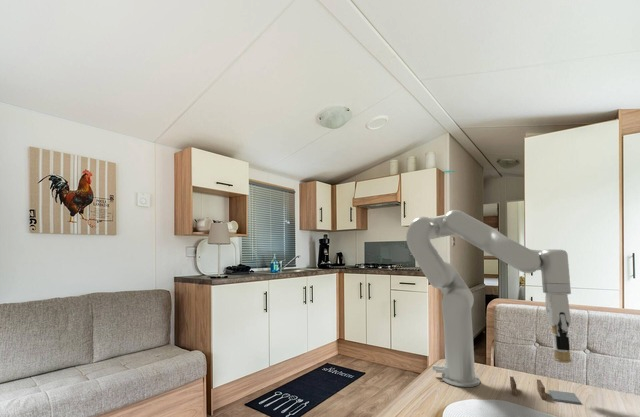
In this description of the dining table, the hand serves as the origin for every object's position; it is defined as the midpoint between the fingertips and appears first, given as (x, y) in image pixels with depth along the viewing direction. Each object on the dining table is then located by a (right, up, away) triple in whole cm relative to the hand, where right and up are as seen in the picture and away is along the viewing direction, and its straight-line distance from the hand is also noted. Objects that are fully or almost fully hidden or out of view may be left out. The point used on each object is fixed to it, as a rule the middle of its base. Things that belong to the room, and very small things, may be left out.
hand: (561, 346), depth 112 cm
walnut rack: (-9, -16, +2) cm, 18 cm away
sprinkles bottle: (0, -4, 0) cm, 5 cm away
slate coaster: (0, -15, -1) cm, 15 cm away
